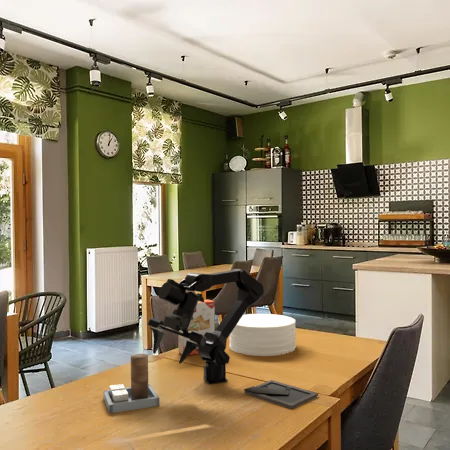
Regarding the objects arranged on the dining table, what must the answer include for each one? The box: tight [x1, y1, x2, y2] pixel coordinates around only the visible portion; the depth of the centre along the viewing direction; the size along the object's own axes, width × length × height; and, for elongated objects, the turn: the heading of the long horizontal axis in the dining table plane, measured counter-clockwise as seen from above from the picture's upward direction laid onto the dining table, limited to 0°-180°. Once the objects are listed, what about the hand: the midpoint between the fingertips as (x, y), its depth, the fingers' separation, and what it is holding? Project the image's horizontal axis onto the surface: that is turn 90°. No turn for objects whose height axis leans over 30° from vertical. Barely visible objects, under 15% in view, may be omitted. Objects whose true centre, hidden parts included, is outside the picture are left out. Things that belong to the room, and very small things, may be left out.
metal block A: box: [108, 383, 126, 401], centre depth 138 cm, size 4×4×4 cm
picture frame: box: [243, 379, 319, 410], centre depth 143 cm, size 13×2×18 cm
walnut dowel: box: [130, 353, 149, 401], centre depth 138 cm, size 5×5×13 cm
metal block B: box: [112, 389, 128, 403], centre depth 133 cm, size 4×4×4 cm
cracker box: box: [177, 299, 216, 356], centre depth 192 cm, size 14×6×21 cm, turn 117°
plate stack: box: [228, 313, 297, 357], centre depth 200 cm, size 28×28×12 cm
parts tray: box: [103, 384, 160, 414], centre depth 137 cm, size 14×12×3 cm
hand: (166, 358), depth 145 cm, fingers open, 9 cm apart
